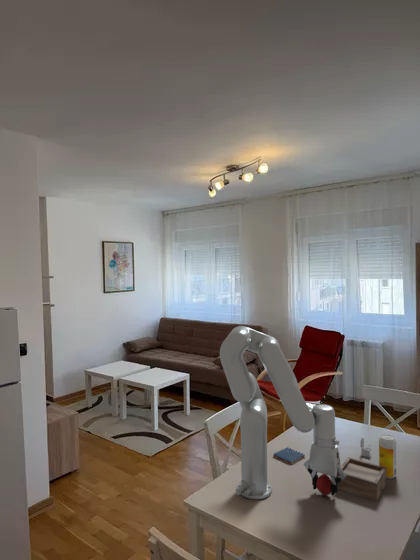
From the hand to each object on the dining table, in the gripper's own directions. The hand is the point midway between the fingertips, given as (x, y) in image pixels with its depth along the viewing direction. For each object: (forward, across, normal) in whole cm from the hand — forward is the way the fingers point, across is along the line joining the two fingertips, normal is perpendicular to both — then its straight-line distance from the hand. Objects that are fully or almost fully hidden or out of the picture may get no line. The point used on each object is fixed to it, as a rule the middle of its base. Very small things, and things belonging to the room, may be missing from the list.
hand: (324, 490), depth 136 cm
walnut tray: (+2, -9, -14) cm, 17 cm away
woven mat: (+3, +23, -19) cm, 30 cm away
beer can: (+2, -15, -28) cm, 32 cm away
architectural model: (+3, -6, -45) cm, 46 cm away
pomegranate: (+2, 0, 0) cm, 2 cm away
